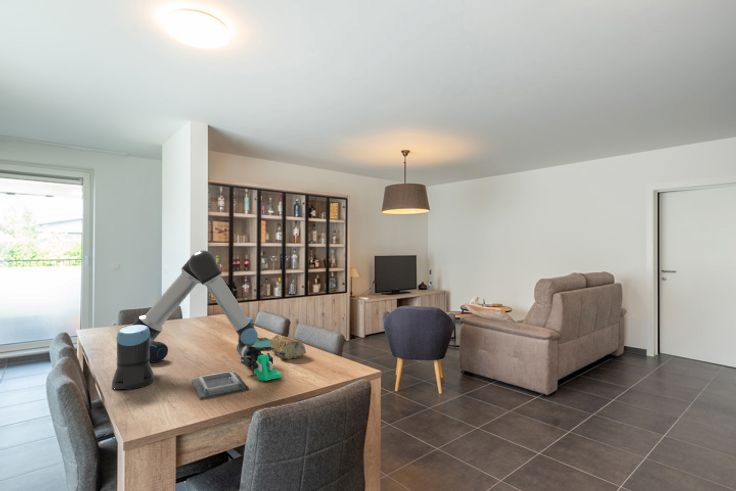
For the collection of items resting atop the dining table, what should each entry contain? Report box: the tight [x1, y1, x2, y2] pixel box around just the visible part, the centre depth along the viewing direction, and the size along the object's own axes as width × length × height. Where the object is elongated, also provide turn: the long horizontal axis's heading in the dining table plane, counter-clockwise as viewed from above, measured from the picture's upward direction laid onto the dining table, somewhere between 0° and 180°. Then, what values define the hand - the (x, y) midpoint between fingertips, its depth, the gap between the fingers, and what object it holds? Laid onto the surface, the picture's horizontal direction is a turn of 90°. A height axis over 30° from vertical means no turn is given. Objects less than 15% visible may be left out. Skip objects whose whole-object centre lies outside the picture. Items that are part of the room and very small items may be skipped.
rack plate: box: [191, 370, 249, 400], centre depth 155 cm, size 18×22×2 cm
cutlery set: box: [254, 337, 272, 350], centre depth 222 cm, size 20×30×2 cm, turn 35°
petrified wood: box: [270, 334, 307, 360], centre depth 199 cm, size 19×13×10 cm
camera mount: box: [253, 353, 282, 382], centre depth 165 cm, size 12×8×10 cm, turn 39°
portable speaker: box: [149, 340, 169, 363], centre depth 191 cm, size 25×10×10 cm, turn 73°
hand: (266, 367), depth 160 cm, fingers closed on camera mount, 4 cm apart
